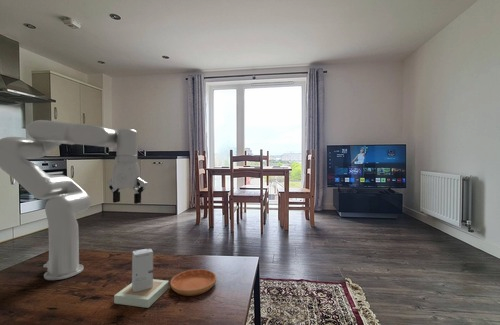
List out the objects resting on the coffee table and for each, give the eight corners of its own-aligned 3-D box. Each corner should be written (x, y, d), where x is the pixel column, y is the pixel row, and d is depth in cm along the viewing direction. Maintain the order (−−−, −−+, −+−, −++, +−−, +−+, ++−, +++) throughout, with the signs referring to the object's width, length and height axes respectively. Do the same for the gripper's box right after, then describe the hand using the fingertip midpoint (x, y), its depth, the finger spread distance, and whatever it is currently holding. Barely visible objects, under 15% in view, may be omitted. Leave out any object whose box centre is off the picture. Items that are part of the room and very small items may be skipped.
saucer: (161, 289, 87) (161, 280, 87) (196, 272, 99) (196, 265, 99) (190, 305, 77) (190, 295, 77) (225, 284, 90) (225, 276, 90)
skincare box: (133, 293, 79) (133, 255, 79) (131, 287, 82) (131, 251, 82) (153, 287, 82) (153, 251, 82) (150, 282, 86) (150, 247, 86)
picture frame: (114, 303, 77) (114, 295, 77) (138, 284, 89) (138, 277, 89) (148, 307, 75) (148, 299, 75) (169, 287, 87) (169, 280, 87)
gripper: (101, 159, 97) (101, 203, 97) (140, 160, 93) (139, 205, 93) (115, 159, 104) (115, 200, 104) (152, 160, 100) (151, 202, 101)
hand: (126, 202), depth 99 cm, fingers open, 9 cm apart
